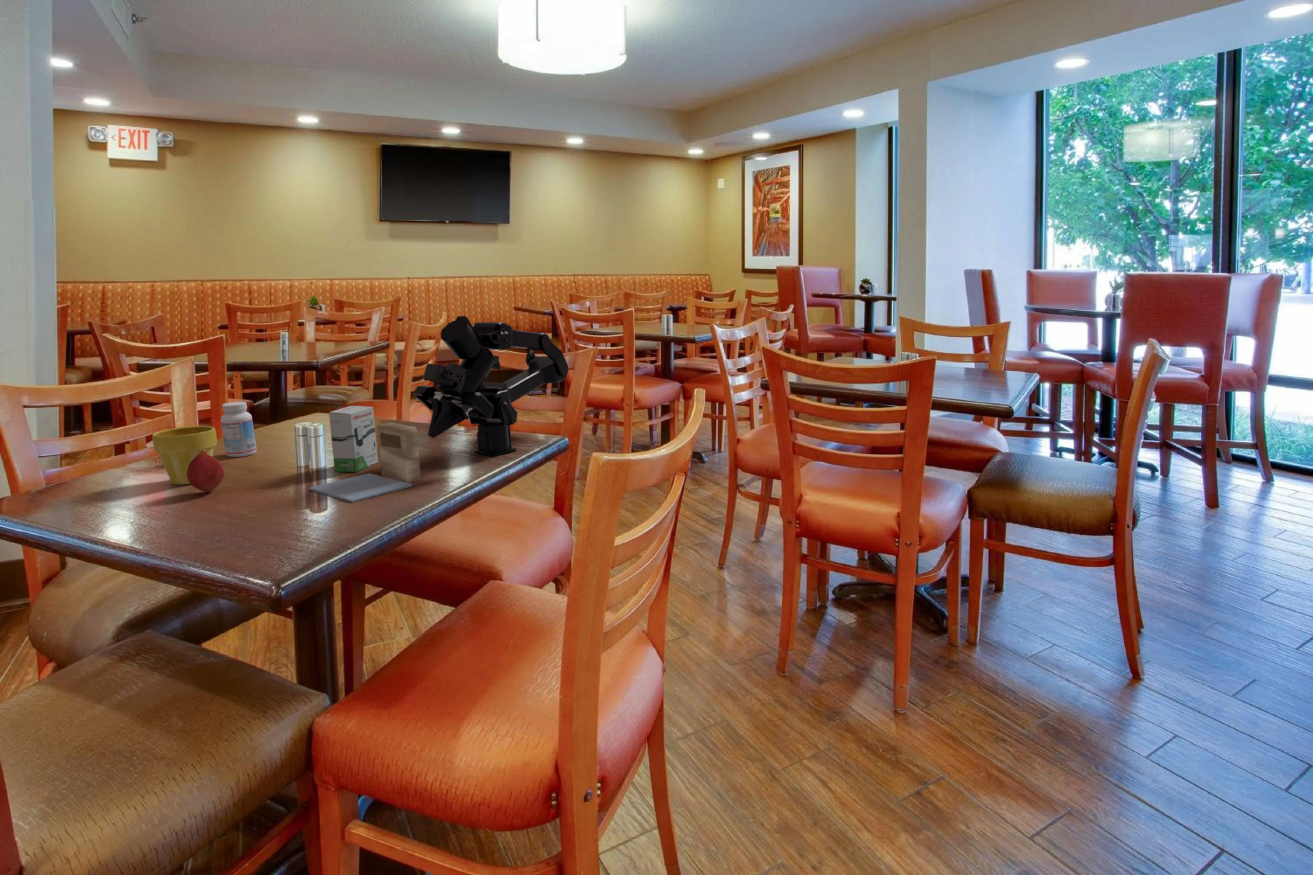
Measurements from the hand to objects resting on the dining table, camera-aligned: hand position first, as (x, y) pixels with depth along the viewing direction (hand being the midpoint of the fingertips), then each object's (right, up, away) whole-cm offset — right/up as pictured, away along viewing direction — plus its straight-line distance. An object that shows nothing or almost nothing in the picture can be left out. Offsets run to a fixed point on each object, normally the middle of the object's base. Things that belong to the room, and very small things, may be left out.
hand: (430, 436), depth 156 cm
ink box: (-16, -6, +5) cm, 18 cm away
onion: (-37, -10, -11) cm, 40 cm away
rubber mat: (-10, -9, -10) cm, 17 cm away
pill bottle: (-46, -4, +19) cm, 50 cm away
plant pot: (-45, -9, -2) cm, 46 cm away
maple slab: (-4, -8, -4) cm, 10 cm away
